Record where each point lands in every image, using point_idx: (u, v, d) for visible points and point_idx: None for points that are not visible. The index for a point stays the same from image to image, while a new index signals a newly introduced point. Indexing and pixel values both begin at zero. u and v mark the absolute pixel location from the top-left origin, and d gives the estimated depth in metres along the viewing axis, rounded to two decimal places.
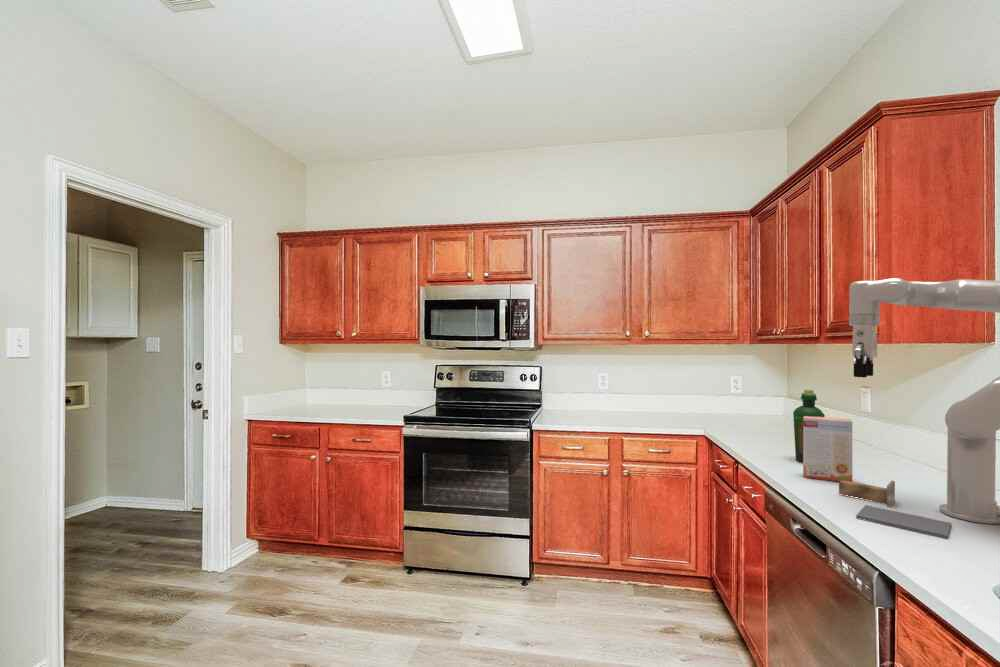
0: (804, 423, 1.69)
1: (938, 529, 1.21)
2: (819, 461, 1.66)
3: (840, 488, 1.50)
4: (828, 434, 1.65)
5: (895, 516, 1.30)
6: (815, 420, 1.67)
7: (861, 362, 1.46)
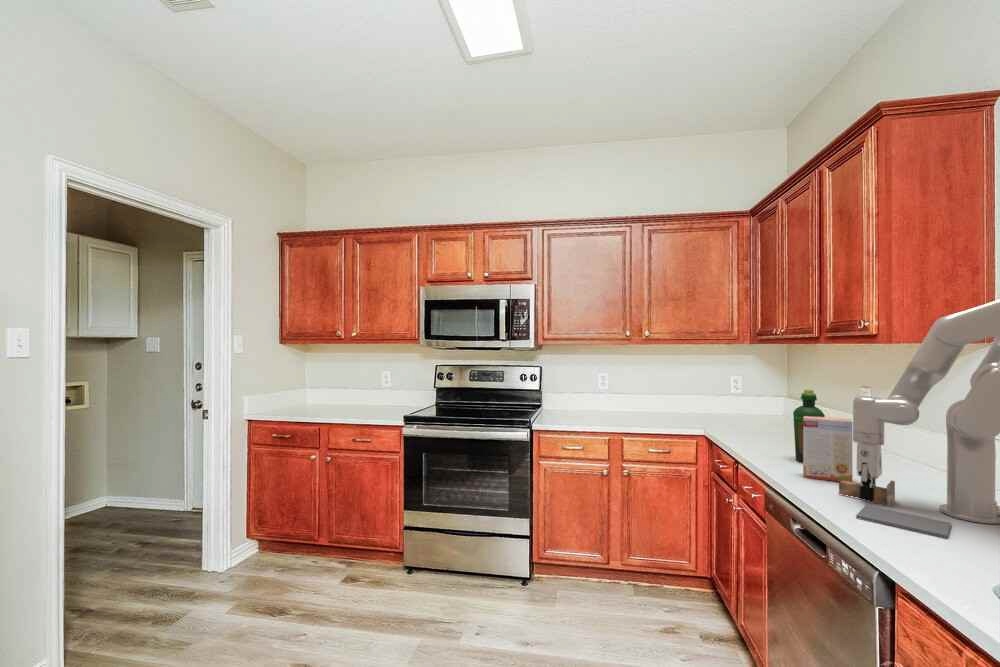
0: (804, 423, 1.69)
1: (938, 529, 1.21)
2: (819, 461, 1.66)
3: (840, 488, 1.50)
4: (828, 434, 1.65)
5: (895, 516, 1.30)
6: (815, 420, 1.67)
7: (868, 487, 1.44)
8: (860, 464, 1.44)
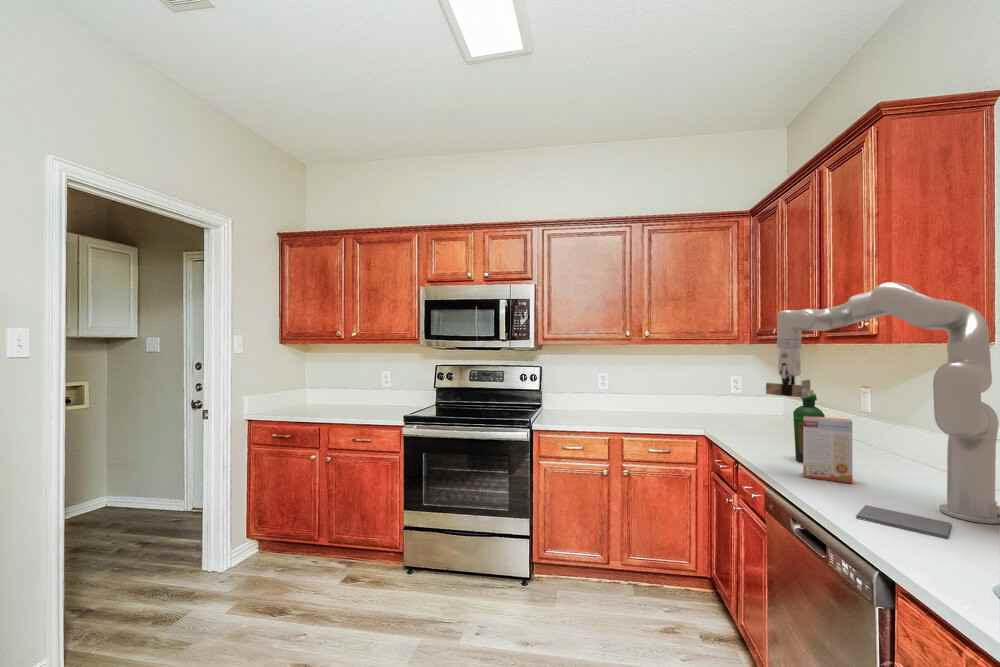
0: (804, 423, 1.69)
1: (938, 529, 1.21)
2: (819, 461, 1.66)
3: (767, 388, 1.80)
4: (828, 434, 1.65)
5: (895, 516, 1.30)
6: (815, 420, 1.67)
7: (787, 384, 1.73)
8: (781, 365, 1.73)
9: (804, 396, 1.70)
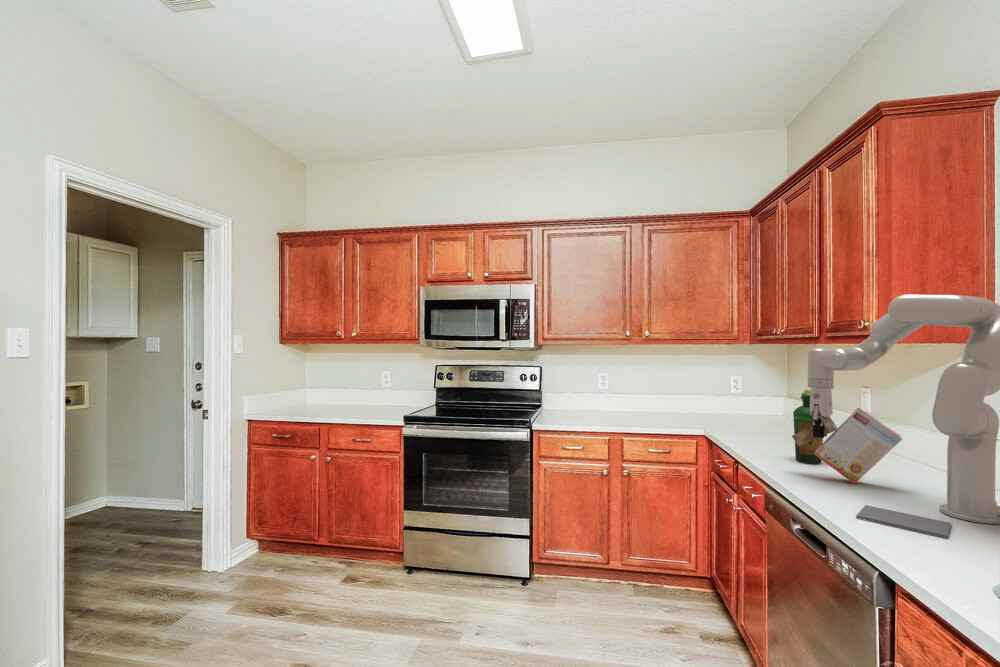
0: (855, 415, 1.60)
1: (938, 529, 1.21)
2: (840, 451, 1.63)
3: (795, 440, 1.73)
4: (870, 436, 1.58)
5: (895, 516, 1.30)
6: (868, 418, 1.58)
7: (819, 426, 1.67)
8: (812, 405, 1.67)
9: (832, 430, 1.64)
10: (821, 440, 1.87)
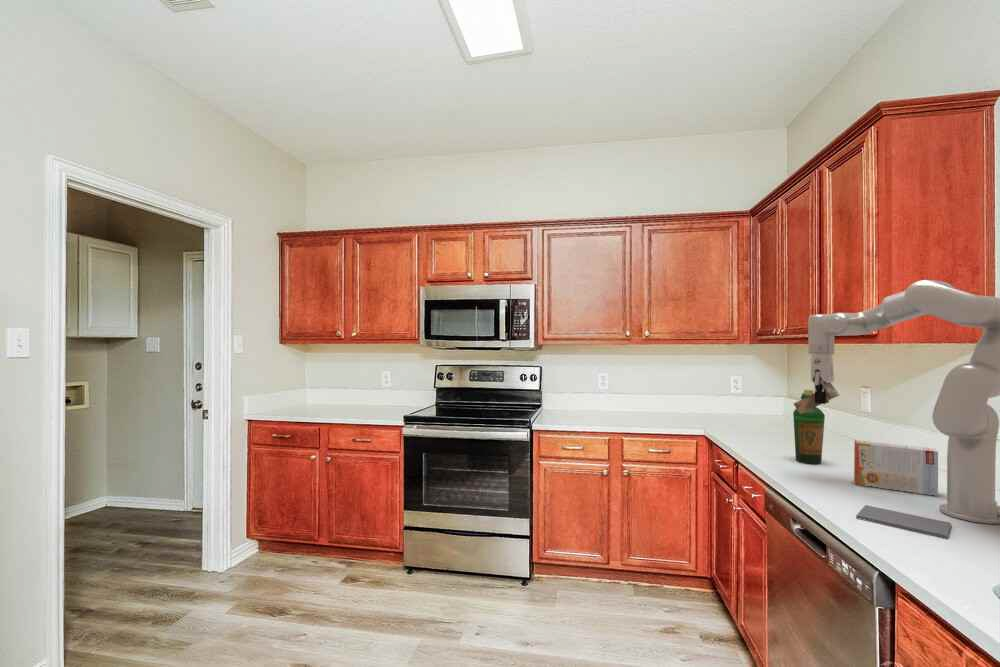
0: (929, 451, 1.51)
1: (938, 529, 1.21)
2: (878, 459, 1.58)
3: (797, 408, 1.73)
4: (916, 472, 1.52)
5: (895, 516, 1.30)
6: (935, 462, 1.50)
7: (820, 391, 1.67)
8: (813, 371, 1.66)
9: (833, 395, 1.64)
10: (821, 440, 1.87)
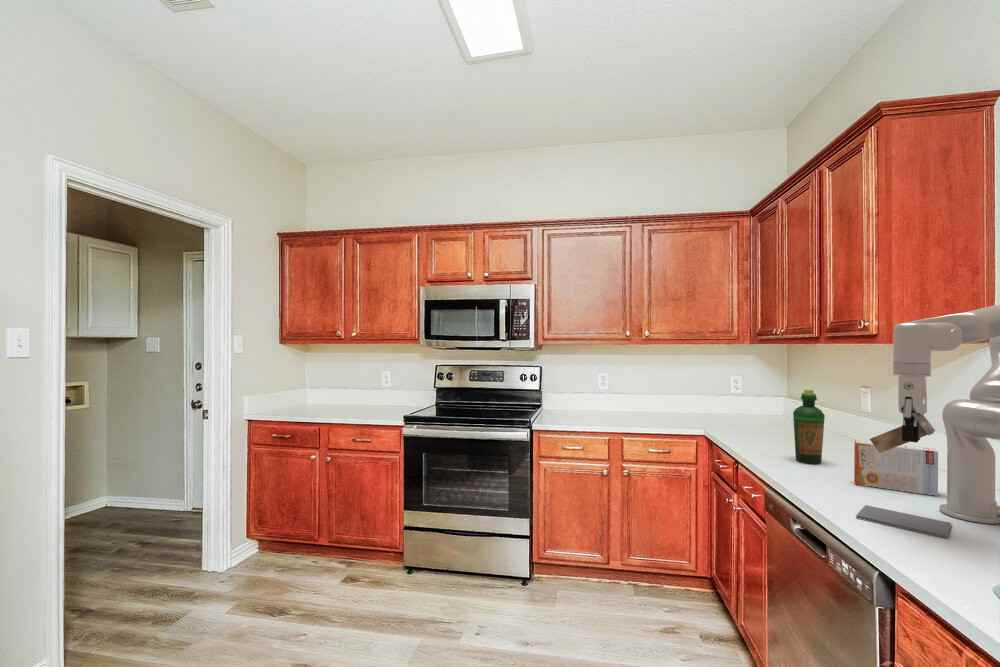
0: (929, 451, 1.51)
1: (938, 529, 1.21)
2: (878, 459, 1.58)
3: (875, 445, 1.31)
4: (916, 472, 1.52)
5: (895, 516, 1.30)
6: (935, 462, 1.50)
7: (912, 426, 1.25)
8: (903, 399, 1.24)
9: (930, 431, 1.22)
10: (821, 440, 1.87)
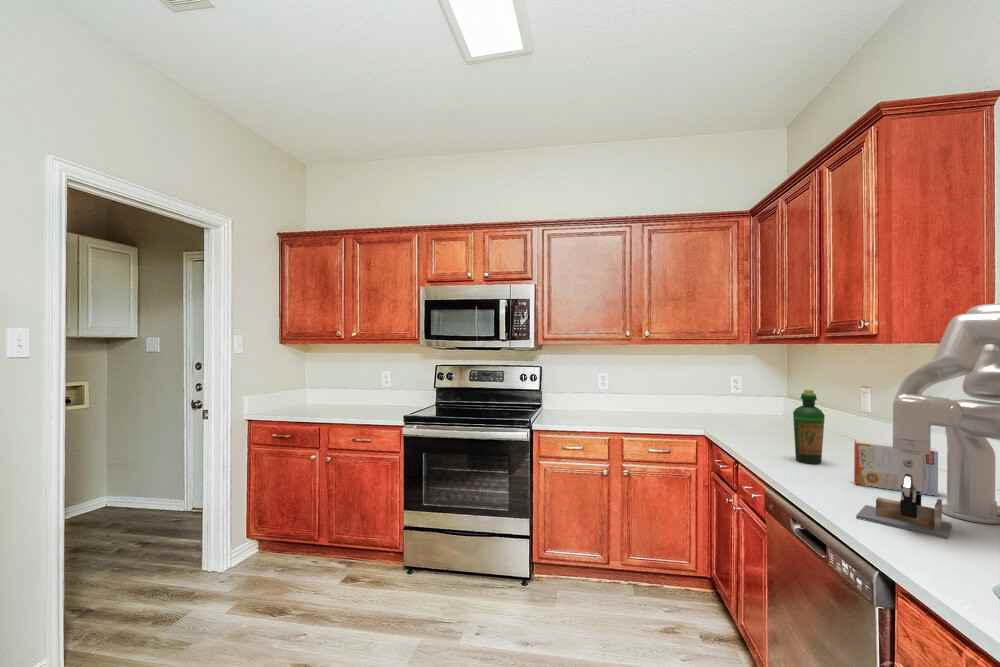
0: None
1: None
2: (878, 459, 1.58)
3: (877, 507, 1.31)
4: None
5: None
6: (935, 462, 1.50)
7: (910, 501, 1.23)
8: (903, 476, 1.24)
9: (939, 527, 1.21)
10: (821, 440, 1.87)
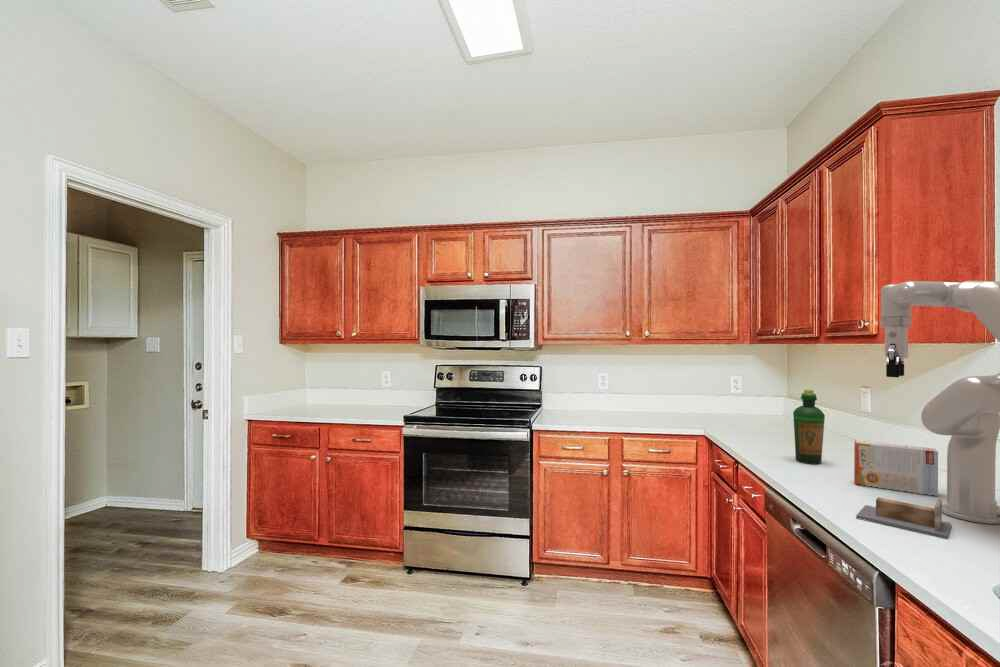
0: (929, 451, 1.51)
1: None
2: (878, 459, 1.58)
3: (877, 507, 1.31)
4: (916, 472, 1.52)
5: None
6: (935, 462, 1.50)
7: (894, 363, 1.52)
8: (888, 345, 1.54)
9: (939, 527, 1.21)
10: (821, 440, 1.87)
